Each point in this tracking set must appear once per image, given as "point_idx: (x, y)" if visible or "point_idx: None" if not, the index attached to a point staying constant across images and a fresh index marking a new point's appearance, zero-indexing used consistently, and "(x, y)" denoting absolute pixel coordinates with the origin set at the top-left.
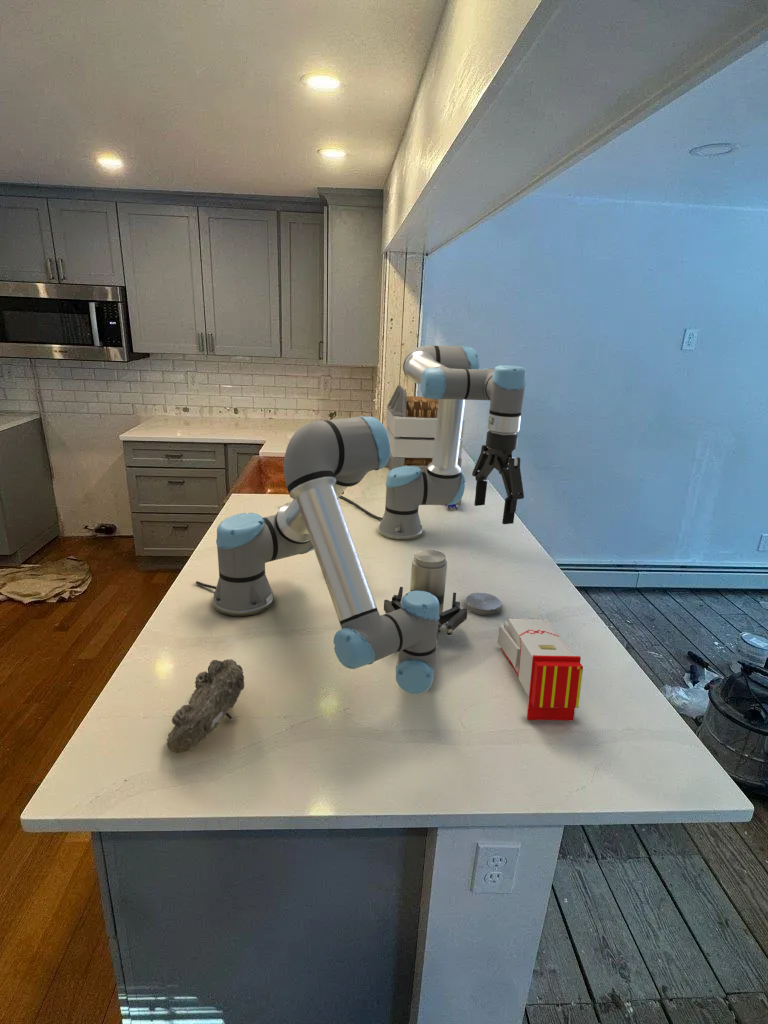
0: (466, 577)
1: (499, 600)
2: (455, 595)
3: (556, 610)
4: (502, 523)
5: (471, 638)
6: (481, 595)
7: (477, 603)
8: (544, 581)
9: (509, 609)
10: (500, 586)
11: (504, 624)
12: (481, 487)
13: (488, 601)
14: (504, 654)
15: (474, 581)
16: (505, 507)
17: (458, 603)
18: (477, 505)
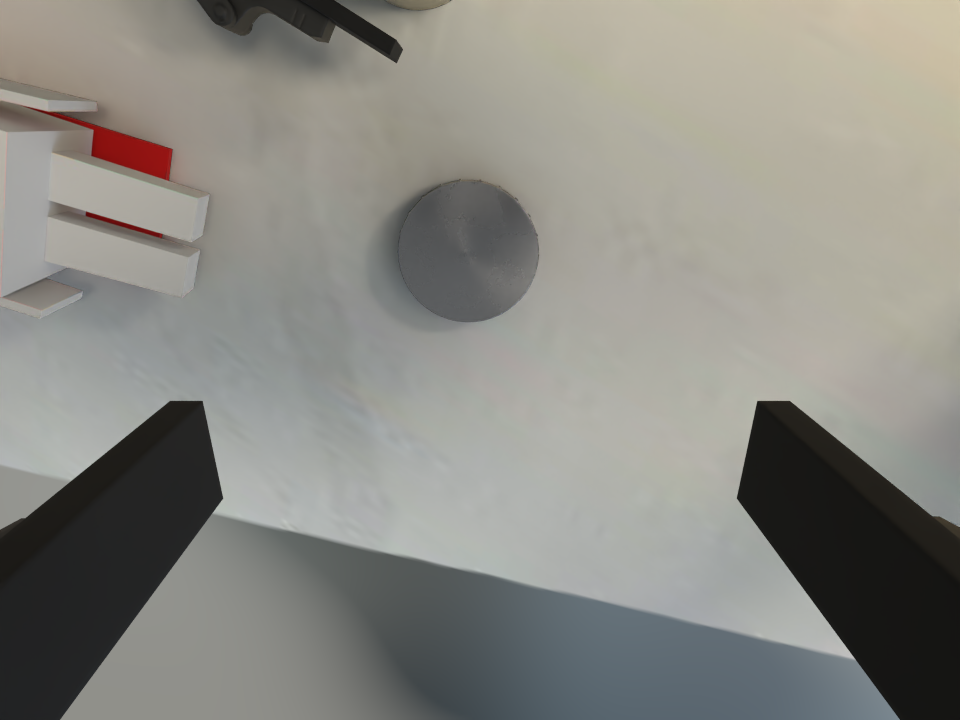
0: (701, 310)
1: (454, 316)
2: (361, 33)
3: (379, 473)
4: (196, 401)
5: (263, 77)
6: (510, 270)
7: (457, 219)
8: (562, 544)
9: (425, 334)
10: (585, 394)
11: (197, 195)
12: (902, 612)
13: (459, 271)
14: (108, 129)
15: (658, 323)
16: (31, 521)
17: (304, 21)
18: (753, 421)
